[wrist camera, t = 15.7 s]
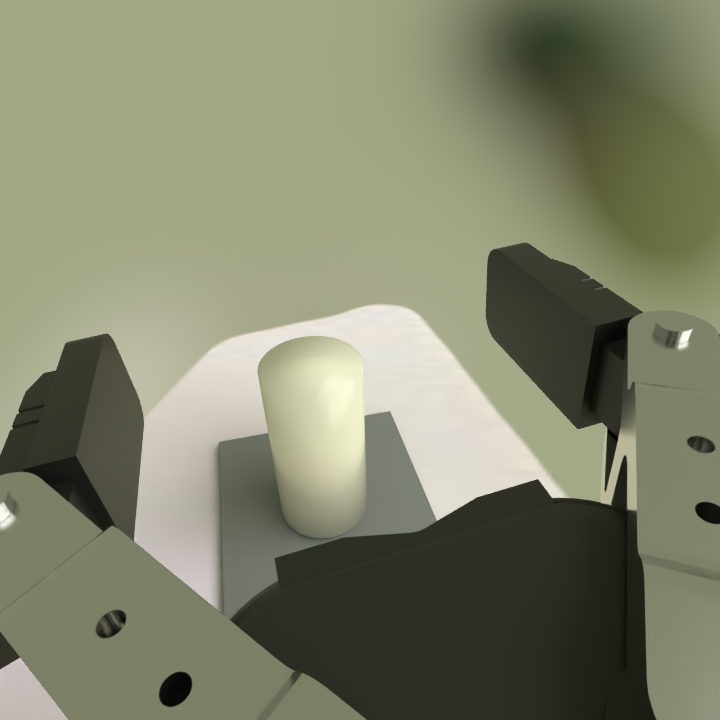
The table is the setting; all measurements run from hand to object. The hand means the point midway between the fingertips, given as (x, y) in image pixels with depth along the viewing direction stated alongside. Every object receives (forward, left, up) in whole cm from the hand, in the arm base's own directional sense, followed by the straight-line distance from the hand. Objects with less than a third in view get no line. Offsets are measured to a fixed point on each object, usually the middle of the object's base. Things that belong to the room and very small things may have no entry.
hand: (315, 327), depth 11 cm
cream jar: (+1, +11, -19) cm, 22 cm away
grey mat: (+1, +11, -20) cm, 23 cm away
